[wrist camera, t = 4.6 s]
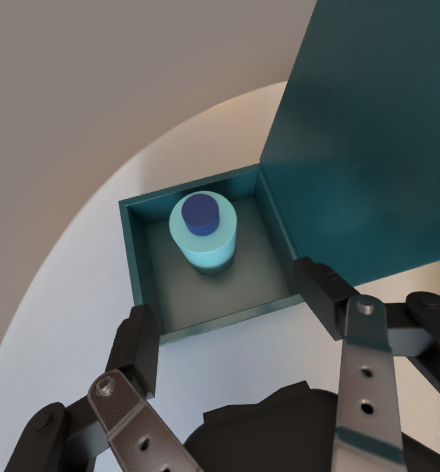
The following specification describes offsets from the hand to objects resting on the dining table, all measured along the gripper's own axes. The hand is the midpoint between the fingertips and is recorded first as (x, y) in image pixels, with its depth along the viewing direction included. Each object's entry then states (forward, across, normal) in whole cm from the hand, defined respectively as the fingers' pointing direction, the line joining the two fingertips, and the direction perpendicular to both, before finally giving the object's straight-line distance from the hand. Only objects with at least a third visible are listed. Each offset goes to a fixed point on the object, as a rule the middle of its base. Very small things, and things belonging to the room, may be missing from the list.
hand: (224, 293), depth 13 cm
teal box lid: (+4, -9, -4) cm, 10 cm away
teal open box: (+14, 0, +6) cm, 16 cm away
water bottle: (+15, 0, +5) cm, 15 cm away
